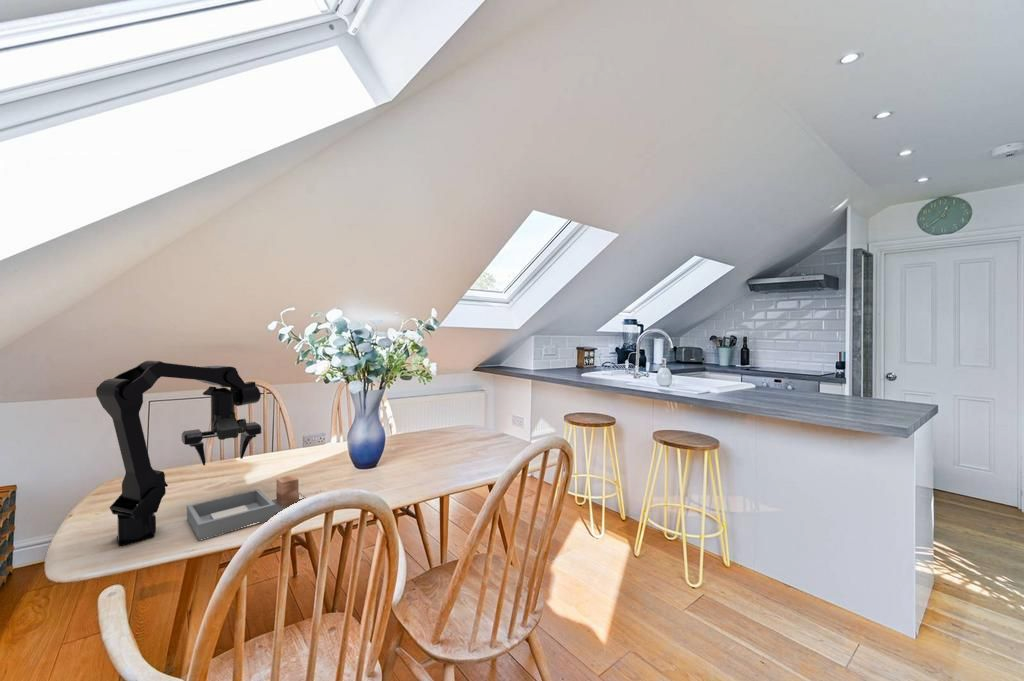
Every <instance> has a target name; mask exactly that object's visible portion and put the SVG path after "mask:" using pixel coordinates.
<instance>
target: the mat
mask: <svg viewBox="0 0 1024 681" xmlns="http://www.w3.org/2000/svg"><path fill="white" fill-rule="evenodd" d="M303 497H305V496H304V495H303ZM302 499H304V498H302ZM302 499H299V501H300V500H302ZM270 500H271V501H272V502H274V503H275V504H276V514H277V513H278V512H280V511H282V510H283V509H285V508H287V507H289V506H290V505H288V506H285V507H281V506H280V505H279V504H278V503H277V500H276V498H274V499H270Z"/></svg>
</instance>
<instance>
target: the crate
mask: <svg viewBox="0 0 1024 681" xmlns="http://www.w3.org/2000/svg"><path fill="white" fill-rule="evenodd" d="M271 500H272V499H270V497H268V496H267V495H266V494H265V493H264V492H263V491H262V490H261V489H259V488H256V489H252V490H248V491H243V492H239V493H235V494H230V495H225V496H222V497H218V498H214V499H210V500H205V501H201V502H196V503H193V504H188V505H186V519H187V523H188V522H189V523H188V525H189V524H190V525H189V526H190V528H191V530H192V533H195V534H194V536H195V537H196V539H197V538H198V539H197V541H198V540H200V541H202V540H201V539H204V538H207V537H211V536H214V537H216V536H215V535H218V536H220V535H219V534H221V535H223V534H222V533H225V534H227V533H226V532H228V533H230V532H229V531H231V530H235V529H238V528H241V527H244V526H247V525H250V524H253V523H257V522H260V524H263V523H266V521H267V520H269V519H270V518H271V517H273V516H274V515H276V504H275V503H274V502H272V501H271ZM276 516H277V515H276ZM267 522H268V521H267ZM235 531H236V530H235ZM211 538H212V537H211ZM207 539H208V538H207ZM204 540H205V539H204Z"/></svg>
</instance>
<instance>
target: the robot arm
mask: <svg viewBox="0 0 1024 681" xmlns="http://www.w3.org/2000/svg"><path fill="white" fill-rule="evenodd" d="M163 377H164V378H172V379H186V380H194V381H199V382H202V383H203V384H208V385H212V386H209V387H207V389H206V390H205V391H203V392H202V395H203V396H209V397H210V430H209V431H201V430H200V429H190V430H184V431H183V432H182V433H181V441H182V443H183V444H184V446H185V445H188V446H189V447H191V448H193V447H194V448H195V450H196V453H197V454H198V456H199V459H200V461H201V464H202V466H206V455H205V447H204V446H205V445H204V442H203V441H202V440H203V439H209V438H215V437H216V438H217V439H218V440H220V441H223V440H226V439H237V438H238V437H239V435H240V440H239V459H241V460H242V459H244V455H245V452H246V451H247V448H248V447H249V446H248V445H249V444H250V442H251V441H252V439H254V438H256V437H257V435H260V434H262V426H261V425H260V424H259V423H257V422H256V421H251V422H247V420H246V418H239V419H237V417H236V412H235V409H236V408H235V406H236V407H240V406H241V407H242V406H245V405H250V404H256V403H258V402H260V399H261V394H262V393H261V391H260V389H259V387H258V386H257V385H256V381H247V382H245V381H244V380H243V379H242V378H241V376H240V374H239V372H238V369H237V368H236V367H234V366H226V365H225V366H224V365H205V366H204V365H203V366H196V365H195V366H194V365H189V364H187V365H186V364H180V363H179V364H178V363H168V362H163V361H161V360H145V361H143V362H141V363H140V364H137V366H135V367H132V368H131V369H127V370H126V371H123V372H121V373H119V374H118V375H116V376H114V377H113V378H108V379H106V380H103V381H102V382H101V383H100V384H98V386H97V387H96V389H95V393H96V397H97V399H98V401H99V402H100V404H101V406H102V408H103V410H105V412H106V413H107V414H108V415H109V416H110V417H111V418H112V422H113V425H114V426H113V427H114V431H115V435H116V438H117V443H118V446H119V450H120V455H121V458H122V462H123V467H124V471H125V475H124V477H123V480H122V483H121V494H120V495H119V496H118V497H117V498H116V500H115V501H114V502H113V503H112V504H111V506H109V510H110V511H111V513H112V514H113V515H117V518H116V519H117V536H116V541H117V542H116V543H117V546H121V547H124V546H123V545H125V546H128V544H129V545H132V544H131V543H133V544H136V543H140V542H142V541H143V540H144V541H146V540H147V539H148V540H150V539H154V538H155V533H156V532H157V518H156V513H157V512H158V511H159V508H160V505H161V502H162V499H163V497H164V496H165V495H166V492H167V490H166V488H168V486H169V485H168V484H167V482H166V474H165V472H164V470H163V471H162V470H156V469H153V466H152V465H151V464H152V463H151V460H150V456H149V452H148V448H147V444H146V439H145V438H146V437H145V435H144V434H145V432H144V430H143V424H142V422H141V416H140V413H141V412H140V411H141V409H142V406H143V403H144V394H145V392H147V391H148V390H150V389H152V387H153V386H154V385H155V383H156V382H157V381H158V380H159V379H160V378H163ZM216 386H219V387H218V388H217V387H216ZM229 388H230V389H229ZM139 541H140V542H139ZM135 542H136V543H135Z"/></svg>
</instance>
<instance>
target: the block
mask: <svg viewBox="0 0 1024 681" xmlns="http://www.w3.org/2000/svg"><path fill="white" fill-rule="evenodd" d="M275 482H276V483H275V484H276V485H275V486H276V487H275V488H276V489H275V490H276V493H275V494H276V495H275V496H276V498H275V499H276V500H277V503H278V504H279V505H280V506H281V507H285V506H288V505H292V504H294V503H297V502H298V501H299V493H300V492H299V489H300V488H299V484H300V483H299V478H297V477H296V476H295V475H294V474H290V475H287V476H283V477H278V478H276V481H275Z"/></svg>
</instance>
